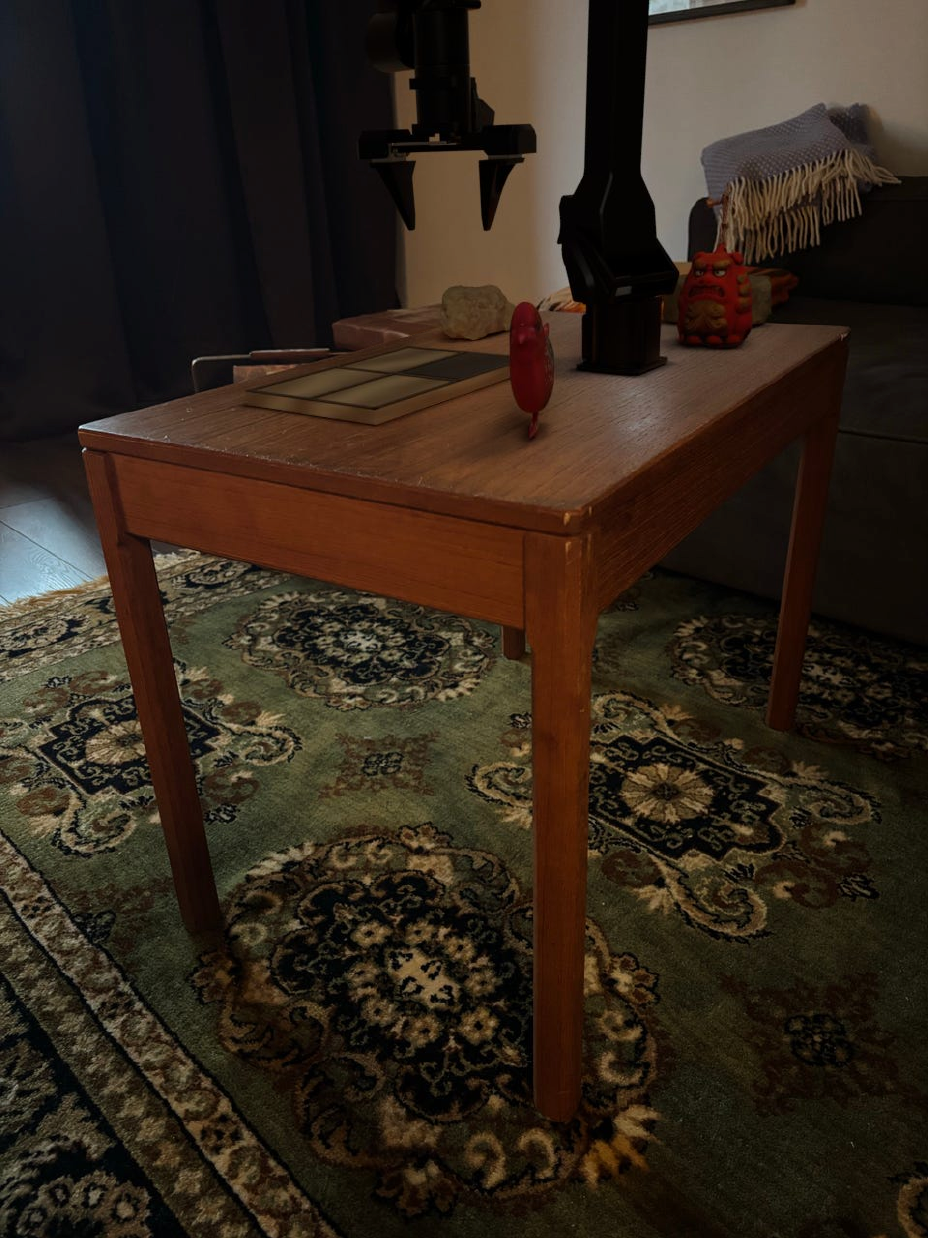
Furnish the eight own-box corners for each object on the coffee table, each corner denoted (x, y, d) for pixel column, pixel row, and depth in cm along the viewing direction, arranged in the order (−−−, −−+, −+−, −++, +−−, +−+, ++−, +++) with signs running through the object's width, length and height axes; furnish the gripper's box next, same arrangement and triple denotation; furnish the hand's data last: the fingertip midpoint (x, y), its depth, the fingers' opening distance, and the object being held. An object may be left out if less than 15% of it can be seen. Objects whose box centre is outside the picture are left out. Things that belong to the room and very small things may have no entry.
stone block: (678, 315, 115) (680, 271, 113) (774, 320, 110) (778, 274, 107) (659, 323, 111) (661, 278, 109) (758, 329, 105) (762, 281, 103)
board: (530, 370, 91) (530, 356, 91) (376, 425, 76) (374, 408, 75) (408, 358, 100) (408, 345, 99) (247, 405, 84) (245, 390, 83)
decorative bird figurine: (502, 461, 65) (497, 307, 61) (530, 399, 81) (528, 273, 77) (544, 461, 65) (543, 306, 61) (565, 399, 81) (565, 272, 76)
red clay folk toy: (666, 347, 98) (673, 186, 92) (688, 335, 104) (696, 182, 97) (741, 351, 95) (754, 184, 88) (760, 338, 100) (773, 180, 93)
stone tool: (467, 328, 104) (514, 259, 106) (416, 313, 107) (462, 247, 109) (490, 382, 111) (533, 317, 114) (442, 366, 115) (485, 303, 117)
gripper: (555, 63, 101) (554, 223, 108) (399, 74, 109) (408, 223, 116) (515, 58, 92) (516, 233, 99) (348, 70, 100) (360, 232, 107)
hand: (448, 230), depth 106 cm, fingers open, 9 cm apart
